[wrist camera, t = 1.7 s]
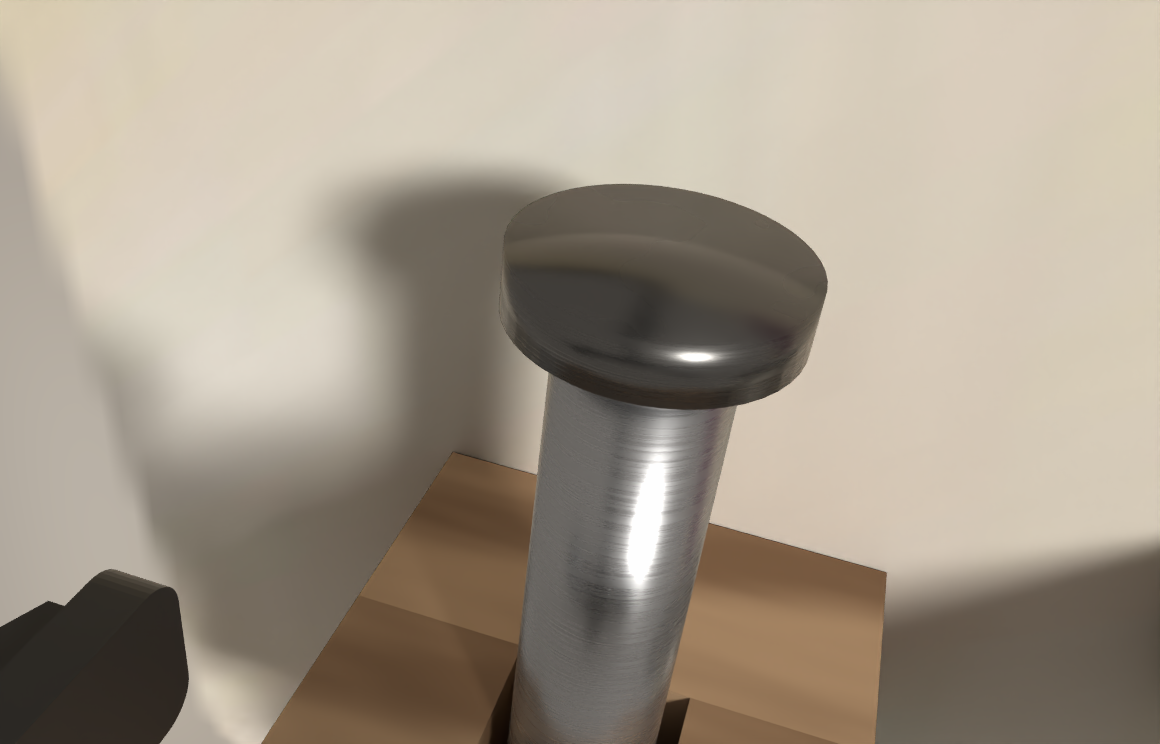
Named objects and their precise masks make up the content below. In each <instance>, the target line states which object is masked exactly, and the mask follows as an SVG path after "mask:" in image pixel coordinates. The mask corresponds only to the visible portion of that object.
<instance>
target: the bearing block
mask: <svg viewBox="0 0 1160 744" xmlns="http://www.w3.org/2000/svg"><path fill="white" fill-rule="evenodd" d="M536 482H537V475H533V474H530V473H526V472H523V471H519V470H515V469H512V468H508V467H505V466H501V465H497V464H494V463H490V462H487V461H483V460H479V459H476V458H472V457H469V456H465V455H461V454H458V453H454V452H453V453H452V454H451V456H450V457H449V459H448V460H447V462H446V463H445V465H444V466H443V468H442V469H441V471H440V472H439V474H438V475H437V477H436V478H435V480H434V481H433V483H432V484H431V486H430V488H429V489H428V491H427V492H426V494H425V495H424V497H423V498H422V500H421V501H420V503H419V504H418V506H417V507H416V509H415V510H414V512H413V513H412V515H411V516H410V518H409V519H408V521H407V523H406V524H405V526H404V527H403V529H402V530H401V532H400V533H399V535H398V536H397V538H396V539H395V541H394V542H393V544H392V545H391V547H390V548H389V550H388V551H387V553H386V554H385V556H384V558H383V559H382V561H381V562H380V564H379V565H378V567H377V568H376V570H375V571H374V573H373V574H372V576H371V577H370V579H369V580H368V582H367V583H366V585H365V586H364V588H363V589H362V591H361V592H360V594H359V596H358V597H357V599H356V600H355V602H354V603H353V605H352V606H351V608H350V609H349V611H348V612H347V614H346V615H345V617H344V618H343V620H342V621H341V623H340V624H339V626H338V627H337V629H336V631H335V632H334V634H333V635H332V637H331V638H330V640H329V641H328V643H327V644H326V646H325V647H324V649H323V650H322V652H321V653H320V655H319V656H318V658H317V659H316V661H315V662H314V664H313V666H312V667H311V669H310V670H309V672H308V673H307V675H306V676H305V678H304V679H303V681H302V682H301V684H300V685H299V687H298V688H297V690H296V691H295V693H294V694H293V696H292V697H291V699H290V701H289V702H288V704H287V705H286V707H285V708H284V710H283V711H282V713H281V714H280V716H279V717H278V719H277V720H276V722H275V723H274V725H273V726H272V728H271V729H270V731H269V732H268V734H267V736H266V737H265V739H264V740H263V742H262V743H261V744H507V742H508V733H509V724H510V715H511V706H512V697H513V688H514V679H515V670H516V661H517V652H518V644H519V635H520V626H521V617H522V608H523V599H524V590H525V581H526V572H527V563H528V554H529V545H530V536H531V527H532V518H533V509H534V500H535V491H536ZM886 576H887V573H886V572H882V571H878V570H875V569H871V568H868V567H864V566H860V565H857V564H853V563H850V562H846V561H842V560H839V559H835V558H832V557H828V556H825V555H821V554H817V553H814V552H810V551H807V550H803V549H799V548H796V547H792V546H789V545H785V544H781V543H778V542H774V541H771V540H767V539H763V538H760V537H756V536H753V535H749V534H745V533H742V532H738V531H735V530H731V529H727V528H724V527H720V526H717V525H713V524H708V528H707V532H706V536H705V541H704V545H703V549H702V553H701V557H700V561H699V566H698V570H697V574H696V578H695V582H694V587H693V591H692V595H691V599H690V603H689V608H688V612H687V616H686V620H685V624H684V628H683V633H682V637H681V641H680V645H679V649H678V654H677V658H676V662H675V666H674V670H673V674H672V679H671V683H670V687H669V691H668V695H667V700H666V704H665V708H664V712H663V716H662V720H661V725H660V729H659V733H658V737H657V741H656V744H875V734H876V720H877V705H878V691H879V677H880V662H881V648H882V634H883V619H884V605H885V591H886Z"/></svg>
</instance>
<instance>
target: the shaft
mask: <svg viewBox="0 0 1160 744" xmlns="http://www.w3.org/2000/svg"><path fill="white" fill-rule="evenodd" d="M827 284H828V281H827V276H826V271H825V269H824V267H823V265H822V263H821V261H820V259H819V258H818V257H817V255H816V254H815V252H814V251H813V250H812V249H811V248H810V247H809V246H808V245H807V244H806V243H805V242H804V241H803V240H802V239H801V238H799V237H798V236H797V235H796V234H794V233H793V232H792V231H790V230H789V229H787V228H786V227H784V226H783V225H781V224H779V223H778V222H776V221H774V220H772V219H770V218H768V217H767V216H765V215H762V214H760V213H758V212H756V211H754V210H751V209H749V208H747V207H744V206H741V205H739V204H736V203H733V202H730V201H727V200H724V199H721V198H717V197H714V196H710V195H706V194H702V193H698V192H693V191H688V190H683V189H677V188H670V187H663V186H653V185H641V184H606V185H595V186H586V187H580V188H574V189H569V190H565V191H561V192H557V193H554V194H551V195H549V196H546V197H543V198H541V199H539V200H537V201H535V202H533V203H531V204H529V205H528V206H527V207H525V208H524V209H522V210H521V211H520V212H519V213H518V214H517V215H516V216H515V217H514V218H513V219H512V220H511V222H510V223H509V225H508V226H507V229H506V232H505V235H504V247H503V260H502V273H501V286H500V299H499V313H500V318H501V322H502V324H503V326H504V329H505V331H506V333H507V334H508V336H509V337H510V339H511V340H512V342H513V343H514V344H515V345H516V346H517V347H518V349H519V350H520V351H521V352H522V353H523V354H524V355H525V356H526V357H528V358H529V359H530V360H532V361H533V362H534V363H535V364H537V365H538V366H539V367H541V368H542V369H544V370H545V371H547V372H549V375H548V384H547V393H546V402H545V411H544V420H543V429H542V437H541V446H540V455H539V464H538V473H537V482H536V491H535V500H534V509H533V518H532V527H531V536H530V545H529V554H528V563H527V572H526V581H525V590H524V599H523V608H522V617H521V626H520V635H519V644H518V652H517V661H516V670H515V679H514V688H513V697H512V706H511V715H510V724H509V733H508V742H507V744H656V741H657V737H658V733H659V729H660V725H661V720H662V716H663V712H664V708H665V704H666V700H667V695H668V691H669V687H670V683H671V679H672V674H673V670H674V666H675V662H676V658H677V654H678V649H679V645H680V641H681V637H682V633H683V628H684V624H685V620H686V616H687V612H688V608H689V603H690V599H691V595H692V591H693V587H694V582H695V578H696V574H697V570H698V566H699V561H700V557H701V553H702V549H703V545H704V541H705V536H706V532H707V528H708V524H709V520H710V515H711V511H712V507H713V503H714V499H715V495H716V490H717V486H718V482H719V478H720V474H721V469H722V465H723V461H724V457H725V453H726V449H727V444H728V440H729V436H730V432H731V428H732V423H733V419H734V415H735V411H736V407H737V405H741V404H746V403H749V402H753V401H756V400H759V399H762V398H765V397H767V396H769V395H771V394H773V393H775V392H778V391H779V390H781V389H782V388H784V387H785V386H787V385H788V384H790V383H791V382H792V381H793V380H794V379H795V378H796V377H797V376H798V375H799V374H800V373H801V371H802V370H803V368H804V367H805V365H806V363H807V360H808V357H809V354H810V351H811V347H812V344H813V340H814V336H815V333H816V329H817V326H818V322H819V318H820V315H821V311H822V308H823V304H824V300H825V297H826V293H827Z"/></svg>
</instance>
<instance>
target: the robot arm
mask: <svg viewBox="0 0 1160 744" xmlns="http://www.w3.org/2000/svg"><path fill="white" fill-rule="evenodd" d="M188 682H189V674H188V666H187V659H186V651H185V644H184V637H183V629H182V622H181V614H180V607H179V600H178V596H177V594H176V592H175V590H174V589H172V588H170V587H168V586H165V585H161V584H158V583H155V582H152V581H149V580H146V579H143V578H139V577H136V576H133V575H130V574H127V573H124V572H120V571H118V570H113V569H109V570H105V571H103V572H101V573H99V574H98V575H96V576H95V577H93V579H91V580H90V581H89V582H88V583H87V584H86V585H85V586H84V587H83V588H82V589H81V590H80V591H79V592H78V593H77V594H76V595H75V596H74V597H73V598H72V599H71V600H70V601H69V602H68V603H67V604H66V605H65V606H62V605H59V604H56V603H53V602H50V601H48V602H45V603H44V604H42V605H40V606H38V607H36V608H34V609H33V610H31V611H29V612H27V613H25V614H23V615H22V616H20V617H18V618H16V619H14V620H13V621H11V622H9V623H7V624H5V625H3V626H1V627H0V744H159V743H160V742H161V741H162V740H163V738H164V737H165V736H166V734H167V733H168V731H169V730H170V728H171V727H172V725H173V724H174V722H175V721H176V719H177V717H178V715H179V713H180V711H181V708H182V706H183V703H184V700H185V697H186V693H187V689H188Z"/></svg>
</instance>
